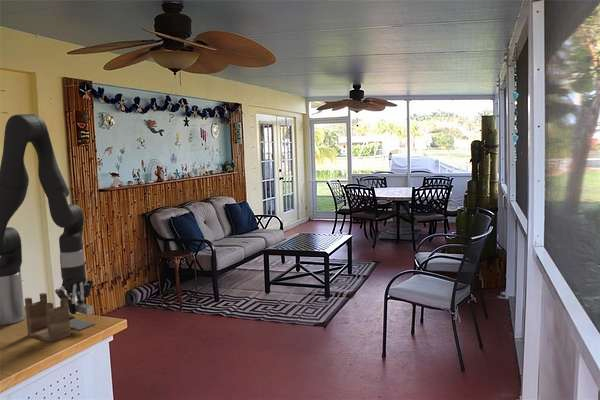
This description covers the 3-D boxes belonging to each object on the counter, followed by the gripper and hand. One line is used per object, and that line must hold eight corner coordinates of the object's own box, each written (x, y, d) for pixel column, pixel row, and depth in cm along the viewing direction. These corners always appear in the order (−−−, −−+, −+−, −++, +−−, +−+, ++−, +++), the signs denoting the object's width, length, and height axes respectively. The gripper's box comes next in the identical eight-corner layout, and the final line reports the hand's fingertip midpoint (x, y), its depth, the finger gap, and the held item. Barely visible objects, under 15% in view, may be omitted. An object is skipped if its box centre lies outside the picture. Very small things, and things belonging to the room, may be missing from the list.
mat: (60, 325, 174) (60, 324, 173) (75, 319, 179) (75, 318, 179) (79, 330, 169) (79, 329, 169) (94, 324, 174) (94, 323, 174)
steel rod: (60, 307, 175) (59, 301, 175) (66, 305, 177) (66, 299, 177) (87, 315, 168) (86, 308, 168) (93, 312, 170) (92, 306, 170)
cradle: (28, 334, 166) (24, 298, 164) (46, 328, 171) (42, 292, 170) (52, 342, 160) (49, 304, 158) (70, 335, 165) (67, 298, 163)
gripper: (82, 257, 178) (87, 304, 181) (46, 267, 166) (51, 317, 169) (97, 259, 175) (101, 307, 177) (61, 269, 163) (65, 321, 165)
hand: (76, 312), depth 173 cm, fingers closed on steel rod, 2 cm apart
